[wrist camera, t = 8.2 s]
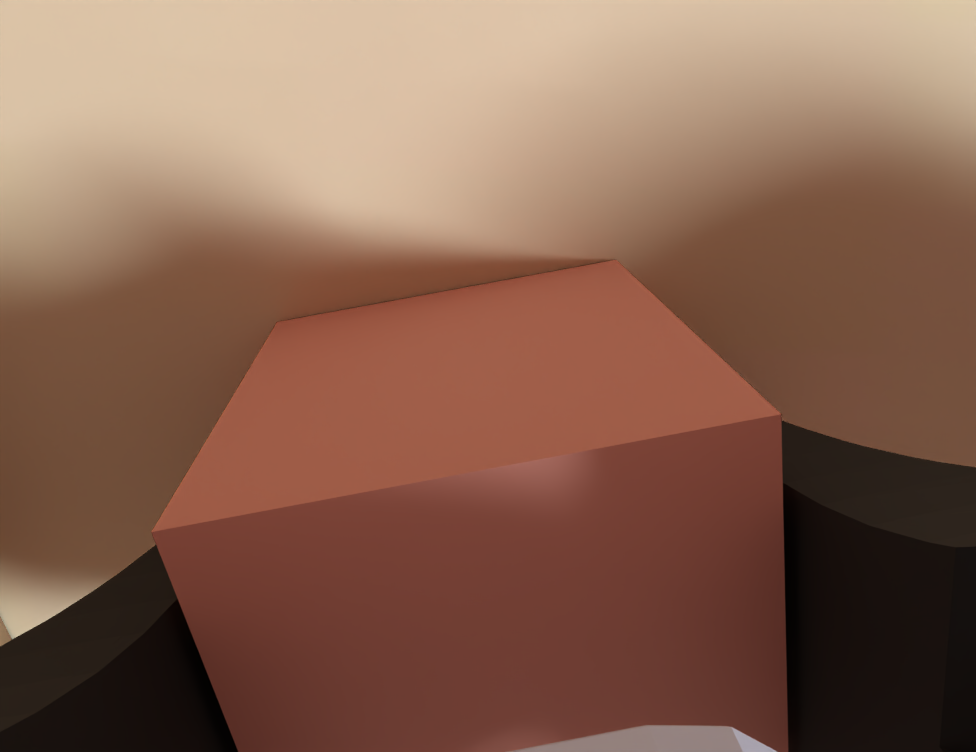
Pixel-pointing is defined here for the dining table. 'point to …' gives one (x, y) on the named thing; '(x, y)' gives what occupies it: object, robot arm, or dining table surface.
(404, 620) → the brick block
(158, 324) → the dining table surface
